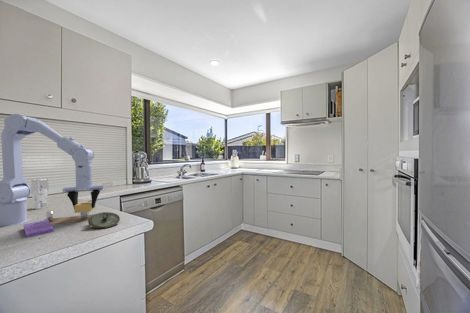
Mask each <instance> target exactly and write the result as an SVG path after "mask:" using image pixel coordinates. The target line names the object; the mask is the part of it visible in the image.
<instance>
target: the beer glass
mask: <svg viewBox="0 0 470 313" xmlns="http://www.w3.org/2000/svg"><path fill="white" fill-rule="evenodd" d="M30 188H31V194H30V195H31V198H32V201H33V203H32V208H31V209H32V210H41V209H46V208H48V207H49V204H48V195H49V190H50V189H49V179H48V178H40V179H38V178H37V179H31V181H30Z"/></svg>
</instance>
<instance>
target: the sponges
mask: <svg viewBox="0 0 470 313" xmlns="http://www.w3.org/2000/svg"><path fill="white" fill-rule="evenodd" d="M46 219H47V218H46ZM23 230H24V234H25V238H30V237H35V236H39V235H44V234H47V233H52V232H55V230H54V227H53V225H51V223H50V221H49V220H48V219H47V220H45V219H43V220H39V221H35V222H29V223H23Z"/></svg>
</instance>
